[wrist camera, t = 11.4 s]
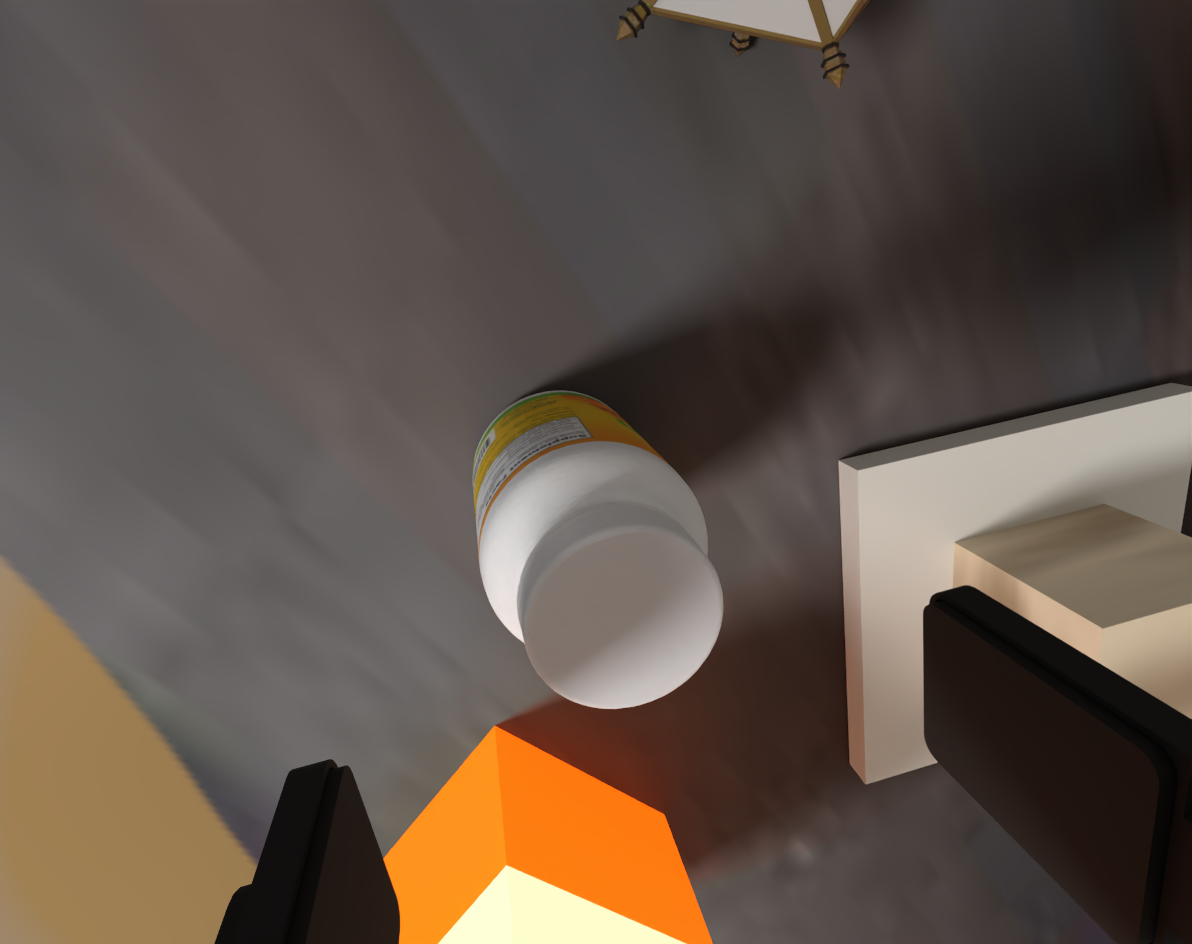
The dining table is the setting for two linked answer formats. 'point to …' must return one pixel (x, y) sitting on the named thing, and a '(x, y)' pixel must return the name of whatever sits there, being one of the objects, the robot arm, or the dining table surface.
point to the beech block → (1097, 591)
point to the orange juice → (539, 859)
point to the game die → (762, 23)
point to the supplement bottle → (593, 551)
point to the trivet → (979, 533)
